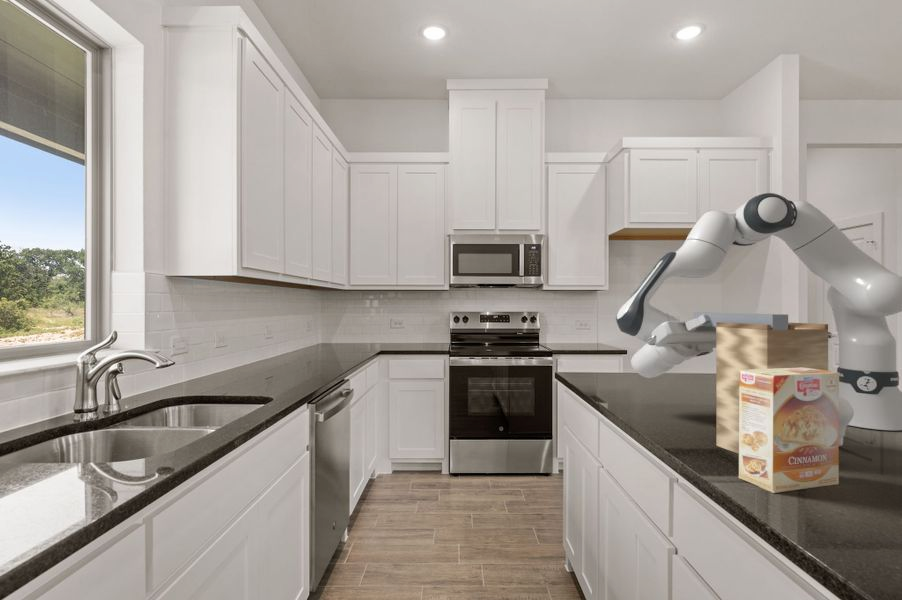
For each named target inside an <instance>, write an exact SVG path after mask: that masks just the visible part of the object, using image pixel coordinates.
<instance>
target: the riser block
mask: <svg viewBox="0 0 902 600" xmlns="http://www.w3.org/2000/svg"><path fill="white" fill-rule="evenodd" d="M715 350H716V354H715V355H716V358H715V359H716V379H715V380H716V388H715V390H716V394H715V395H716V408H715V409H716V420H715V421H716V423H715V424H716V426H715V427H716V447H719V448H722V449H724V450H728V451H731V452H733V453H736V454H738V455H739V382H740V372H739V370H748V369H775V368H800V367H804V368H811V369H820V370H827V371H829V323H807V322H805V323H804V322H788V330H771V325H763V324H743V323H722V322H716V349H715Z"/></svg>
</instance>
